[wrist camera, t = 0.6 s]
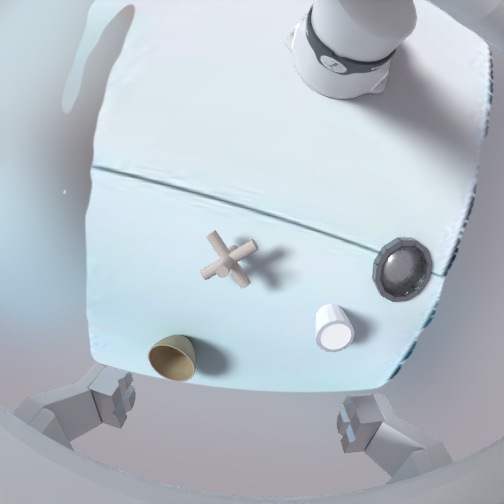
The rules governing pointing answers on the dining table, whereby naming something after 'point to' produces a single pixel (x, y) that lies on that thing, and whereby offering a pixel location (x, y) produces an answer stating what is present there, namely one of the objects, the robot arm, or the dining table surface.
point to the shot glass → (333, 328)
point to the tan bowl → (173, 358)
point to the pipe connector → (228, 259)
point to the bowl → (401, 269)
